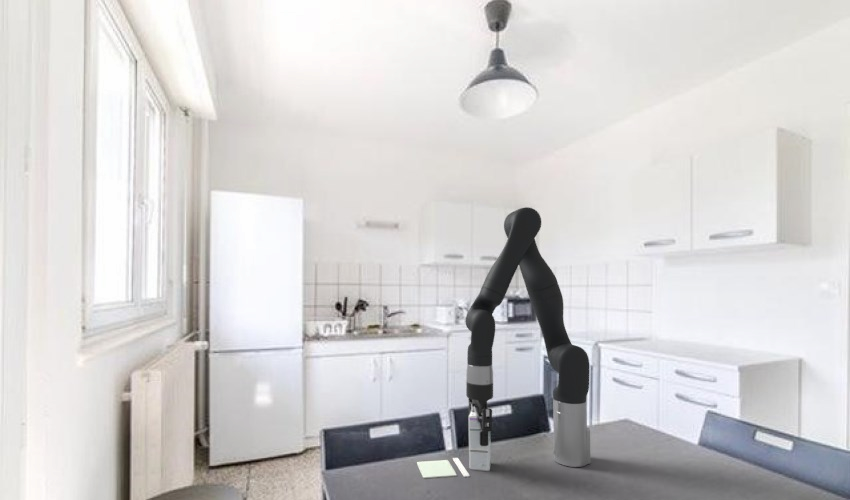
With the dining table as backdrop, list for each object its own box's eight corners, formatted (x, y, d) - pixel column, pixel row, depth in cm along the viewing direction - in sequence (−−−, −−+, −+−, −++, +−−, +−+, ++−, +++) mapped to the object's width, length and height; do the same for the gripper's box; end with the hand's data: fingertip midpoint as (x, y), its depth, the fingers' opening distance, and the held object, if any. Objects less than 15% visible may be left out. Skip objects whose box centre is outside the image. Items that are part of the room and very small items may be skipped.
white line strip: (457, 458, 127) (457, 457, 127) (469, 476, 115) (469, 475, 115) (452, 459, 127) (452, 458, 127) (464, 477, 115) (464, 475, 115)
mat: (447, 460, 125) (447, 459, 125) (456, 475, 115) (456, 474, 115) (416, 463, 124) (416, 461, 124) (423, 478, 114) (423, 477, 114)
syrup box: (490, 471, 118) (489, 416, 120) (468, 469, 120) (468, 415, 121) (491, 463, 124) (490, 410, 125) (470, 461, 125) (470, 409, 126)
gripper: (501, 385, 117) (501, 449, 116) (484, 374, 131) (484, 431, 130) (474, 386, 116) (474, 451, 115) (460, 375, 130) (459, 432, 129)
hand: (479, 440), depth 122 cm, fingers closed on syrup box, 7 cm apart
